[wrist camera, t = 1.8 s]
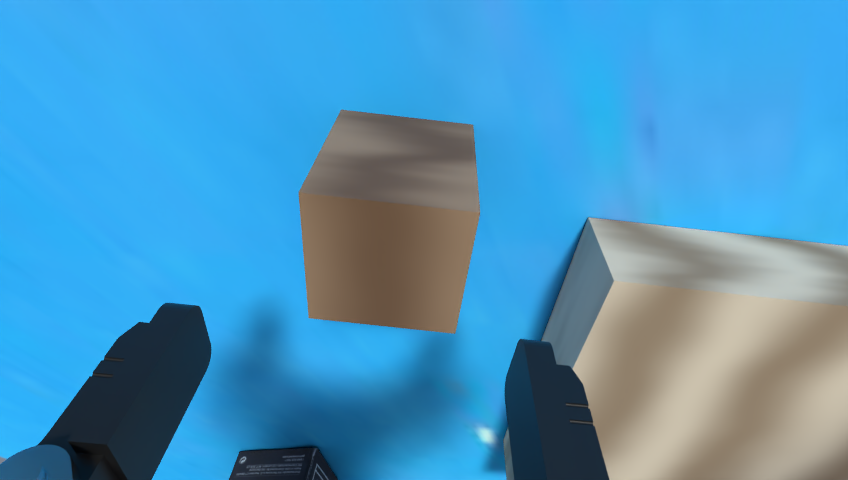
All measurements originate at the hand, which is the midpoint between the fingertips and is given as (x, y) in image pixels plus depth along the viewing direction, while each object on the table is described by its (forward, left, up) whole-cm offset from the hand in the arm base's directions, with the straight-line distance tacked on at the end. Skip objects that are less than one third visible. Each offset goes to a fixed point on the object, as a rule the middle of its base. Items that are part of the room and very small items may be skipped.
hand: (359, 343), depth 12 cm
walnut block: (0, 0, -9) cm, 9 cm away
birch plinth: (-17, +10, -9) cm, 22 cm away
